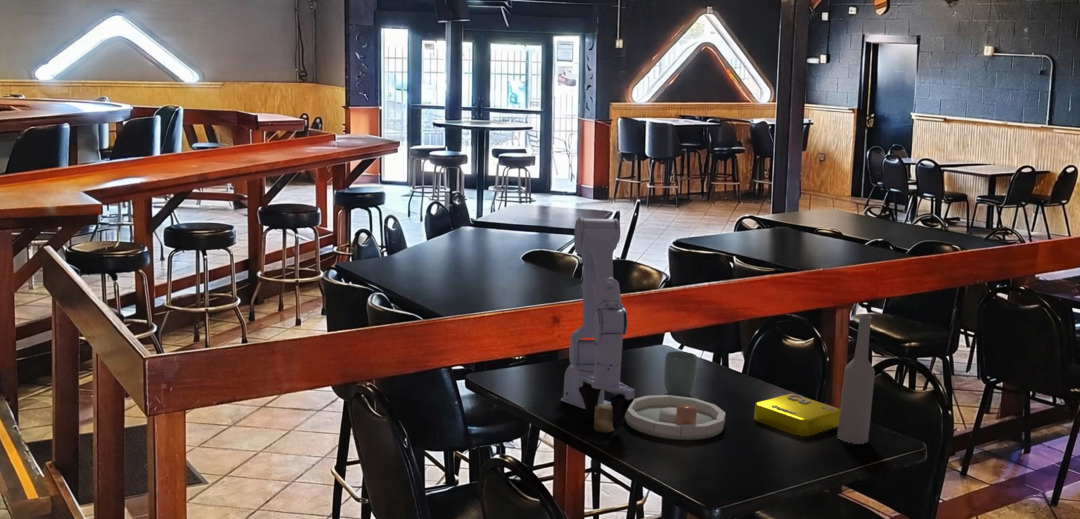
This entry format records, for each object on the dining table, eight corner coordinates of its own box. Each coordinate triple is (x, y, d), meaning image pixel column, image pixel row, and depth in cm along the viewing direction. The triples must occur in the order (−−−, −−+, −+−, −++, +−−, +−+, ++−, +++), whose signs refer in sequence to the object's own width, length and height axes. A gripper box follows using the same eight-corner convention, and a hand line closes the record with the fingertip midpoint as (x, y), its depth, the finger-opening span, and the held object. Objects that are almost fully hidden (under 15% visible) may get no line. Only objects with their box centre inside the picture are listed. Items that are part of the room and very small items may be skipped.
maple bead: (589, 428, 230) (590, 406, 229) (603, 424, 233) (604, 402, 233) (604, 433, 227) (605, 411, 226) (617, 429, 230) (619, 407, 229)
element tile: (749, 420, 242) (751, 400, 242) (789, 409, 252) (791, 390, 251) (803, 439, 231) (805, 419, 230) (843, 427, 241) (845, 407, 240)
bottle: (850, 445, 227) (863, 320, 222) (830, 435, 233) (843, 313, 228) (874, 443, 230) (888, 319, 225) (854, 433, 236) (867, 312, 231)
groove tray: (605, 419, 237) (606, 406, 236) (666, 401, 252) (667, 389, 251) (682, 447, 221) (683, 433, 221) (743, 426, 236) (744, 413, 236)
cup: (693, 400, 254) (696, 361, 252) (661, 397, 255) (664, 357, 253) (695, 391, 261) (698, 353, 259) (664, 388, 263) (666, 349, 261)
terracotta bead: (671, 427, 230) (672, 405, 229) (683, 423, 233) (685, 402, 232) (687, 433, 227) (688, 411, 226) (699, 429, 230) (701, 407, 229)
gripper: (571, 358, 230) (567, 417, 232) (620, 373, 220) (616, 435, 222) (593, 353, 235) (589, 411, 237) (642, 368, 225) (638, 428, 227)
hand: (604, 422), depth 230 cm, fingers open, 7 cm apart
